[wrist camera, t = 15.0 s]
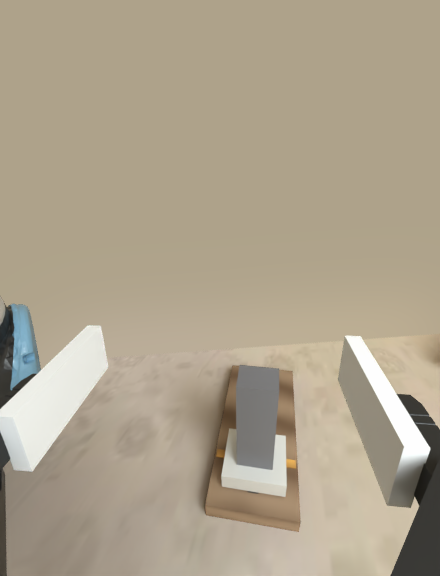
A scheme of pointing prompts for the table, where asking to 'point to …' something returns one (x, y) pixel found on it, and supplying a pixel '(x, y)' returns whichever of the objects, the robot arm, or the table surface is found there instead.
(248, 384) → the slider
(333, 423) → the table surface
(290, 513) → the board
